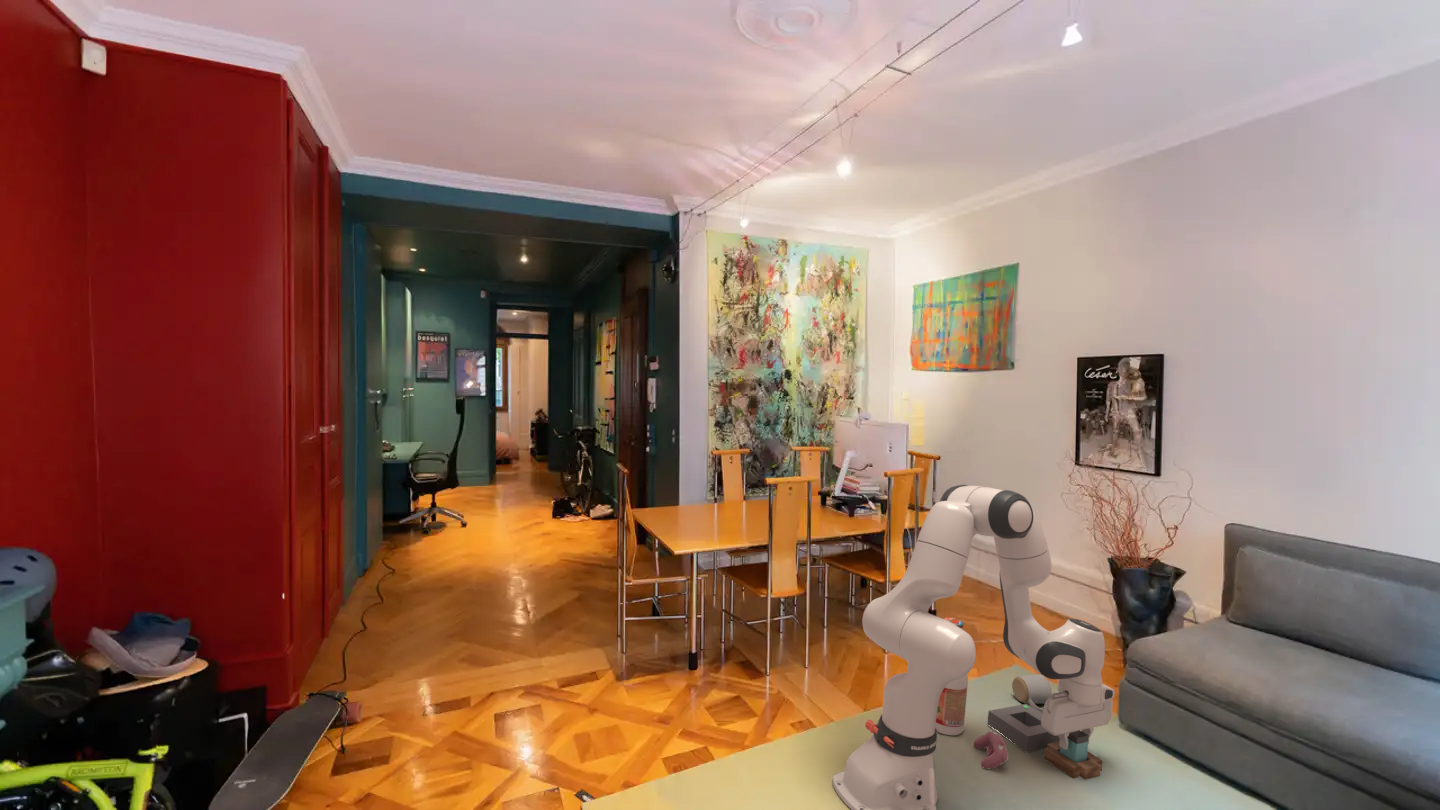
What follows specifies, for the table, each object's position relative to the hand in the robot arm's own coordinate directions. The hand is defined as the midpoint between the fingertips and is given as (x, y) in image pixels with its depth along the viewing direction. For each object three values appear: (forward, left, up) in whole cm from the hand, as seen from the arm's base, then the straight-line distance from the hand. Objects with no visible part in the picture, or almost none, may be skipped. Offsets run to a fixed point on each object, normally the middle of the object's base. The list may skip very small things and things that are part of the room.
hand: (1073, 745), depth 142 cm
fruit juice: (-19, +22, -5) cm, 29 cm away
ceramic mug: (+17, +24, -5) cm, 30 cm away
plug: (0, 0, -5) cm, 5 cm away
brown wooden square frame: (0, 0, -5) cm, 5 cm away
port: (0, +13, -5) cm, 14 cm away
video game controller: (-19, +7, -5) cm, 21 cm away
